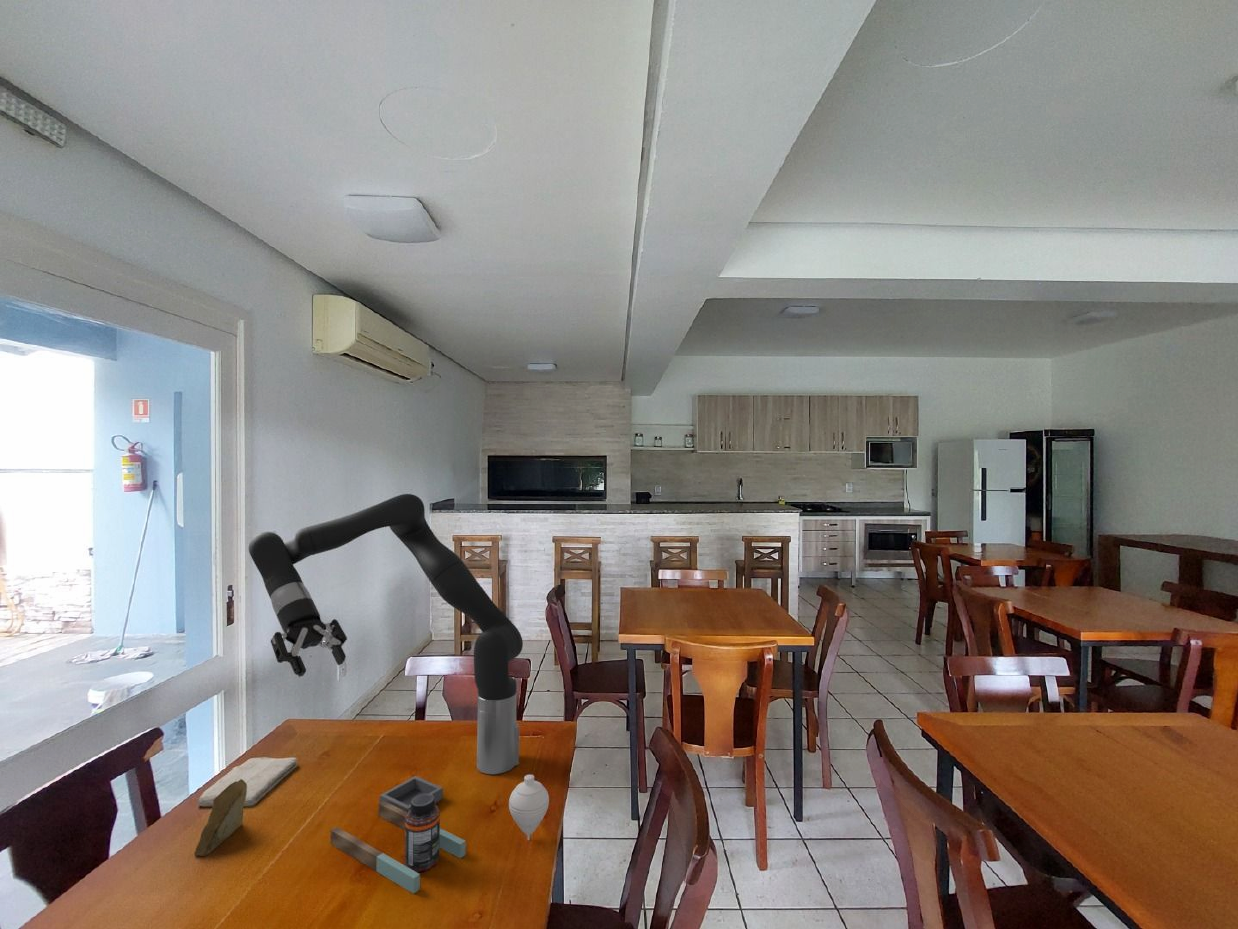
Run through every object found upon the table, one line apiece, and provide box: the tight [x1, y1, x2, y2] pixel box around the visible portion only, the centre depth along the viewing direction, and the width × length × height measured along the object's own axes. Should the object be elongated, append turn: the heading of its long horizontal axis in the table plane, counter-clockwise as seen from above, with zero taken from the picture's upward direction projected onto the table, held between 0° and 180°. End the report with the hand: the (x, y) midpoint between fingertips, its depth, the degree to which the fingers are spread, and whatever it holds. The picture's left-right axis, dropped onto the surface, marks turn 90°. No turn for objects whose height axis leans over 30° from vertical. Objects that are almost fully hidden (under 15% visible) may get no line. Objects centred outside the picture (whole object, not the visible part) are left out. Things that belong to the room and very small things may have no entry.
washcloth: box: [197, 756, 299, 808], centre depth 125 cm, size 12×18×3 cm, turn 2°
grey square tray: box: [379, 775, 444, 812], centre depth 118 cm, size 9×9×2 cm
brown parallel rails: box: [330, 801, 408, 872], centre depth 106 cm, size 14×11×2 cm
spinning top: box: [508, 774, 550, 841], centre depth 107 cm, size 8×8×12 cm
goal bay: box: [375, 828, 467, 894], centre depth 100 cm, size 10×11×2 cm
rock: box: [193, 779, 247, 857], centre depth 106 cm, size 11×9×10 cm
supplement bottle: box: [404, 793, 441, 873], centre depth 100 cm, size 6×6×11 cm
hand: (322, 668), depth 118 cm, fingers open, 8 cm apart
